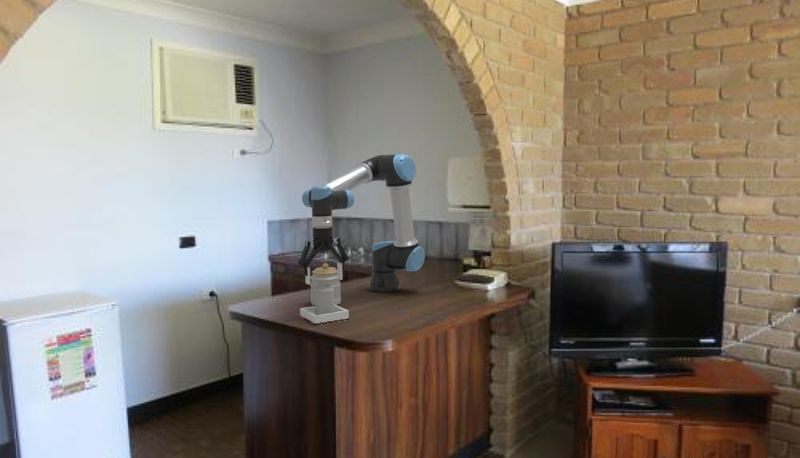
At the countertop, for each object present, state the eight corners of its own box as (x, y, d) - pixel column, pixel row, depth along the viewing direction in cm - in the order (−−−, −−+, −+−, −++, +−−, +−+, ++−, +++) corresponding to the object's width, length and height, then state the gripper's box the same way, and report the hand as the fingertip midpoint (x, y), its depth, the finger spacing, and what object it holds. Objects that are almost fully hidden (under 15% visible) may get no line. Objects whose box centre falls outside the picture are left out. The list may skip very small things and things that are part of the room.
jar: (346, 301, 238) (345, 261, 236) (333, 308, 226) (332, 266, 224) (319, 299, 242) (318, 260, 240) (305, 306, 230) (304, 264, 228)
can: (330, 318, 206) (330, 287, 205) (312, 317, 208) (311, 286, 206) (336, 313, 214) (336, 283, 212) (318, 312, 215) (318, 282, 214)
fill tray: (300, 317, 213) (299, 308, 212) (332, 311, 220) (332, 303, 220) (315, 325, 201) (315, 316, 201) (348, 319, 209) (348, 310, 208)
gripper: (295, 230, 197) (297, 287, 200) (355, 225, 211) (357, 278, 213) (287, 228, 203) (290, 284, 206) (346, 223, 217) (348, 275, 219)
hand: (324, 281), depth 209 cm, fingers open, 13 cm apart
